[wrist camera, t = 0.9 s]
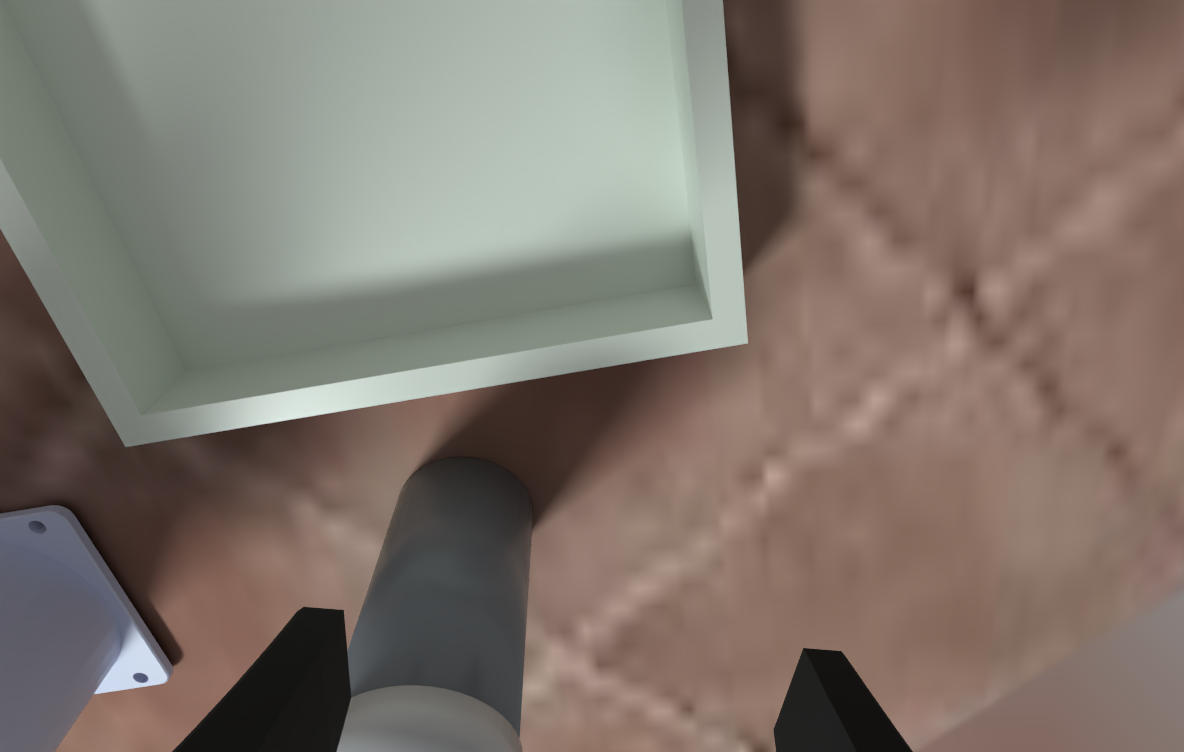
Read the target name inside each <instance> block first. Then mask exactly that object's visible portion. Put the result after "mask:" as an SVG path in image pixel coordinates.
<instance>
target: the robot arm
mask: <svg viewBox="0 0 1184 752" xmlns="http://www.w3.org/2000/svg"><path fill="white" fill-rule="evenodd" d="M40 522H41V523H43V524H44V525H43V524H41V523H40ZM172 673H173V667H172V665H171V663H170V662H169V660H168V659H167V657H166V655H165V654H164V652H163V651H162V649H161V648H160V646H159V645H158V643H157V642H156V640H155V639H154V637H153V635H152V634H151V632H150V631H149V629H148V628H147V626H146V625H145V623H144V622H143V620H142V619H141V617H140V615H139V614H138V612H137V611H136V609H135V608H134V606H133V605H132V603H131V602H130V600H129V598H128V597H127V595H126V594H125V592H124V591H123V589H122V588H121V586H120V585H119V583H118V582H117V580H116V578H115V577H114V575H113V574H112V572H111V571H110V569H109V568H108V566H107V565H106V563H105V562H104V560H103V558H102V557H101V555H100V554H99V552H98V551H97V549H96V548H95V546H94V545H93V543H92V541H91V540H90V538H89V537H88V535H87V534H86V532H85V531H84V529H83V528H82V526H81V525H80V523H79V521H78V520H77V518H76V517H75V515H74V514H73V513H72V512H71V511H70V510H69V509H67V508H65V507H62V506H58V505H50V506H44V507H38V508H32V509H26V510H20V511H14V512H7V513H1V514H0V752H55V750H56V749H57V747H58V746H59V744H60V743H61V741H62V740H63V738H64V737H65V735H66V734H67V733H68V731H69V730H70V728H71V727H72V725H73V724H74V722H75V721H76V719H77V718H78V716H79V715H80V713H81V712H82V710H83V709H84V708H85V706H86V705H87V703H88V702H89V700H90V699H91V697H92V696H93V694H98V693H105V692H111V691H118V690H125V689H131V688H138V687H145V686H151V685H158V684H163V683H166V682H167V681H168V680H169V678H170V677H171V675H172ZM350 701H351V688H350V677H349V665H348V654H347V643H346V632H345V620H344V610H335V609H322V608H310V607H303V608H302V609H300V610H299V611H297V612H296V613H295V615H294V616H293V617H292V618H291V620H290V621H289V622H288V623H287V624H286V626H285V627H284V628H283V629H282V631H281V632H280V633H279V634H278V635H277V637H276V638H275V639H274V640H273V641H272V643H271V644H270V645H269V646H268V647H267V648H266V650H265V651H264V652H263V653H262V654H261V655H260V657H259V658H258V659H257V660H256V661H255V662H254V664H253V665H252V666H251V667H250V668H249V669H248V670H247V672H246V673H245V674H244V675H243V676H242V677H241V678H240V680H239V681H238V682H237V683H236V684H235V685H234V686H233V687H232V689H231V690H230V691H229V692H228V693H227V694H226V695H225V696H224V697H223V698H222V699H221V700H220V702H219V703H218V704H217V705H216V706H215V707H214V708H213V709H212V710H211V711H210V712H209V713H208V715H207V716H206V717H205V718H204V719H203V720H202V721H201V722H200V723H199V724H198V725H197V726H196V728H195V729H194V730H193V731H192V732H191V733H190V734H189V735H188V736H187V737H186V738H185V739H184V740H183V741H182V742H181V743H180V744H179V745H178V746H177V747H176V748H175V749H174V750H173V751H172V752H337V748H338V745H339V741H340V738H341V734H342V730H343V727H344V723H345V719H346V716H347V712H348V708H349V704H350ZM774 737H775V745H776V752H913V751H912V750H911V749H910V747H909V746H908V745H907V743H906V742H905V740H904V739H903V738H902V736H901V735H900V733H899V732H898V731H897V729H896V728H895V726H894V725H893V724H892V722H891V721H890V719H889V718H888V717H887V715H886V714H885V712H884V711H883V709H882V708H881V707H880V705H879V704H878V702H877V701H876V699H875V698H874V697H873V695H872V694H871V692H870V691H869V689H868V688H867V687H866V685H865V684H864V682H863V681H862V679H861V678H860V677H859V675H858V674H857V672H856V671H855V669H854V668H853V666H852V665H851V664H850V662H849V661H848V659H847V658H846V657H845V655H844V654H843V653H842V652H841V651H831V650H819V649H807V648H803V651H802V654H801V656H800V659H799V662H798V665H797V667H796V670H795V673H794V675H793V678H792V681H791V684H790V686H789V689H788V692H787V695H786V697H785V700H784V703H783V706H782V708H781V711H780V714H779V717H778V719H777V722H776V725H775V728H774Z"/></svg>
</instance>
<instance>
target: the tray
mask: <svg viewBox="0 0 1184 752" xmlns="http://www.w3.org/2000/svg"><path fill="white" fill-rule="evenodd" d="M0 229H1V231H2V233H3V234H4V236H5V238H6V240H7V241H8V243H9V245H10V246H11V248H12V250H13V252H14V253H15V255H16V257H17V259H18V260H19V262H20V264H21V266H22V267H23V269H24V271H25V273H26V274H27V276H28V278H29V280H30V281H31V283H32V285H33V287H34V288H35V290H36V292H37V294H38V295H39V297H40V299H41V301H42V302H43V304H44V306H45V308H46V309H47V311H48V313H49V314H50V316H51V318H52V320H53V321H54V323H55V325H56V327H57V328H58V330H59V332H60V334H61V335H62V337H63V339H64V341H65V342H66V344H67V346H68V348H69V349H70V351H71V353H72V355H73V356H74V358H75V360H76V362H77V363H78V365H79V367H80V369H81V370H82V372H83V374H84V376H85V377H86V379H87V381H88V383H89V384H90V386H91V388H92V389H93V391H94V393H95V395H96V396H97V398H98V400H99V402H100V403H101V405H102V407H103V409H104V410H105V412H106V414H107V416H108V417H109V419H110V421H111V423H112V424H113V426H114V428H115V430H116V431H117V433H118V435H119V437H120V438H121V440H122V442H123V444H124V445H125V447H130V446H136V445H142V444H148V443H154V442H160V441H166V440H172V439H178V438H184V437H190V436H196V435H202V434H208V433H214V432H220V431H226V430H232V429H238V428H244V427H250V426H256V425H262V424H268V423H274V422H280V421H286V420H291V419H297V418H303V417H309V416H315V415H321V414H327V413H333V412H339V411H345V410H351V409H357V408H363V407H369V406H375V405H381V404H387V403H393V402H399V401H405V400H411V399H417V398H423V397H429V396H435V395H441V394H447V393H453V392H459V391H465V390H471V389H477V388H483V387H489V386H495V385H501V384H507V383H513V382H519V381H525V380H531V379H537V378H543V377H549V376H555V375H561V374H567V373H573V372H579V371H585V370H591V369H597V368H603V367H609V366H615V365H621V364H627V363H633V362H639V361H645V360H651V359H657V358H663V357H669V356H675V355H681V354H687V353H693V352H699V351H705V350H711V349H717V348H723V347H729V346H735V345H741V344H747V343H748V338H747V324H746V311H745V297H744V283H743V270H742V256H741V242H740V229H739V215H738V201H737V188H736V174H735V160H734V147H733V133H732V119H731V106H730V92H729V78H728V65H727V51H726V37H725V24H724V10H723V0H0Z"/></svg>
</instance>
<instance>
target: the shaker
mask: <svg viewBox="0 0 1184 752" xmlns="http://www.w3.org/2000/svg"><path fill="white" fill-rule="evenodd" d="M532 521H533V508H532V502H531V499H530V497H529V494H528V492H527V491H526V489H525V487H524V486H523V485H522V483H521V482H520V481H519V480H518V479H517V478H516V477H515V476H514V475H513V474H511V473H510V472H509V471H507V470H506V469H504V468H503V467H501V466H499V465H497V464H494V463H492V462H489V461H486V460H482V459H478V458H471V457H453V458H446V459H441V460H438V461H435V462H432V463H430V464H428V465H426V466H424V467H422V468H421V469H419V470H418V471H416V472H415V473H414V474H413V475H412V476H411V477H410V478H409V479H408V480H407V481H406V483H405V484H404V486H403V488H402V490H401V492H400V495H399V498H398V501H397V504H396V507H395V510H394V513H393V516H392V519H391V522H390V525H389V528H388V531H387V534H386V537H385V540H384V543H383V546H382V549H381V552H380V555H379V558H378V561H377V564H376V567H375V570H374V573H373V576H372V579H371V582H370V585H369V588H368V591H367V594H366V597H365V600H364V603H363V606H362V609H361V612H360V615H359V618H358V621H357V624H356V627H355V630H354V633H353V636H352V639H351V642H350V645H349V648H348V651H347V654H348V665H349V677H350V688H351V701H350V704H349V708H348V712H347V716H346V719H345V723H344V727H343V730H342V734H341V738H340V741H339V745H338V748H337V752H523V751H522V746H521V742H520V739H519V737H520V721H521V704H522V687H523V671H524V654H525V637H526V621H527V604H528V587H529V571H530V554H531V537H532Z"/></svg>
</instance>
